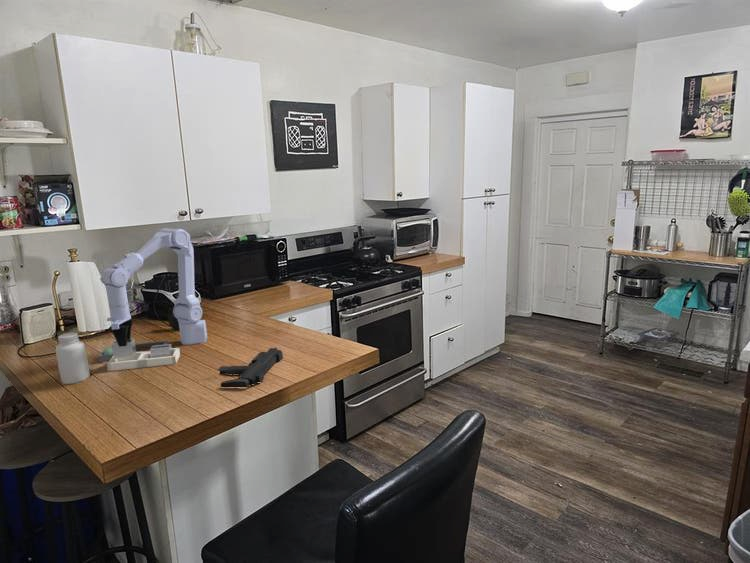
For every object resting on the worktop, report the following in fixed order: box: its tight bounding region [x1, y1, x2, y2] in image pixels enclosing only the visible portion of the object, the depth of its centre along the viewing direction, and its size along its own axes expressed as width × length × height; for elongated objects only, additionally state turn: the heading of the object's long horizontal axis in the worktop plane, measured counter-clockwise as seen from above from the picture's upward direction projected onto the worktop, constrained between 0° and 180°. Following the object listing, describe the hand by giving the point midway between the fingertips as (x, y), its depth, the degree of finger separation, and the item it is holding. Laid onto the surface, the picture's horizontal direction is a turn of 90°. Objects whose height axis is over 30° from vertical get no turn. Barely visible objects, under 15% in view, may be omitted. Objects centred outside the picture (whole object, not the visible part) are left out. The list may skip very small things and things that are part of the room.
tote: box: [135, 340, 169, 350], centre depth 175 cm, size 14×12×2 cm
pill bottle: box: [55, 331, 91, 385], centre depth 154 cm, size 8×8×15 cm
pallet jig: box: [106, 347, 181, 372], centre depth 165 cm, size 21×9×4 cm, turn 103°
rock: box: [166, 307, 202, 330], centre depth 203 cm, size 13×4×10 cm, turn 91°
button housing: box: [98, 349, 113, 364], centre depth 171 cm, size 6×6×3 cm
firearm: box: [217, 347, 284, 388], centre depth 160 cm, size 3×30×20 cm
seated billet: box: [149, 343, 173, 358], centre depth 166 cm, size 4×6×5 cm, turn 103°
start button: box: [103, 346, 113, 355], centre depth 171 cm, size 4×4×3 cm
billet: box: [111, 338, 138, 359], centre depth 163 cm, size 4×6×5 cm, turn 103°
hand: (124, 343), depth 163 cm, fingers closed on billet, 4 cm apart
